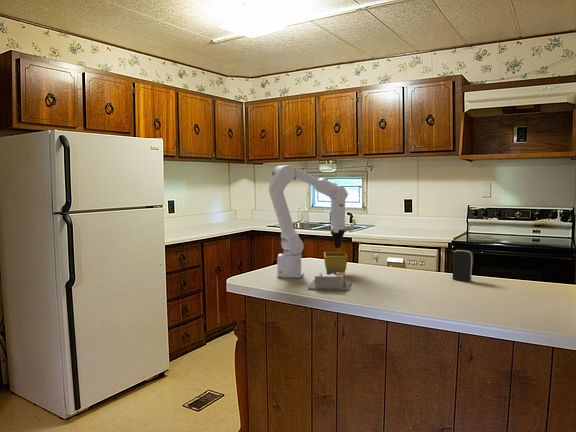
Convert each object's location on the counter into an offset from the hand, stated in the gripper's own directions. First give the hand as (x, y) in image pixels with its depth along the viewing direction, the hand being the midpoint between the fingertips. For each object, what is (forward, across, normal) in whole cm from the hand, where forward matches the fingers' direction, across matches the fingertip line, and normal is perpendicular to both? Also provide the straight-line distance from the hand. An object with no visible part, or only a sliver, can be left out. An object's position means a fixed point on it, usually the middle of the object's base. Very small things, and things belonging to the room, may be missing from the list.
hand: (338, 247), depth 186 cm
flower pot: (+10, -10, 0) cm, 14 cm away
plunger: (+9, -20, -1) cm, 23 cm away
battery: (+10, -8, -48) cm, 50 cm away
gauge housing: (+10, -26, 0) cm, 28 cm away
